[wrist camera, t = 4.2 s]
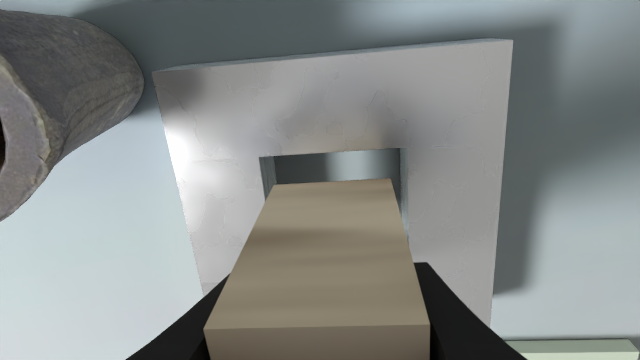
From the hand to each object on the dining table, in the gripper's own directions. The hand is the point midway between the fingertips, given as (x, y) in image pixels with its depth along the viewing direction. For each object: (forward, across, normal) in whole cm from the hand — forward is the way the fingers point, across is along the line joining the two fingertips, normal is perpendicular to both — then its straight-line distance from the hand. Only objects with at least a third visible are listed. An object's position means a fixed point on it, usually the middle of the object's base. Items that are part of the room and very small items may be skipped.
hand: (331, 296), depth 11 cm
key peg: (+3, 0, 0) cm, 3 cm away
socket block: (+7, 0, 0) cm, 7 cm away
